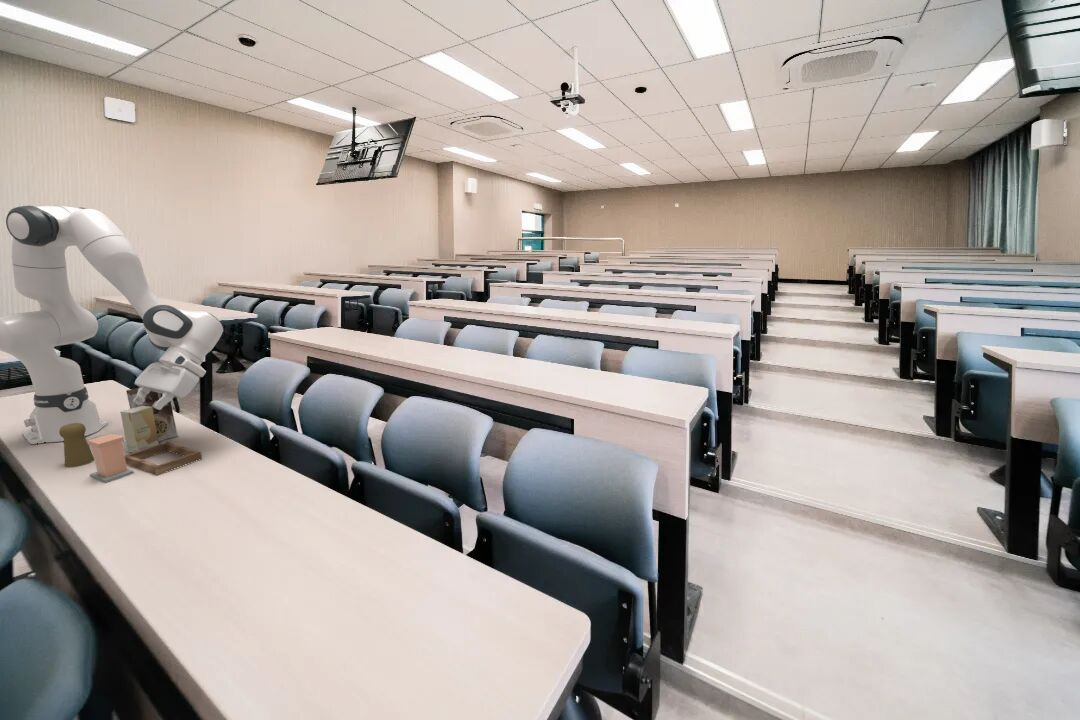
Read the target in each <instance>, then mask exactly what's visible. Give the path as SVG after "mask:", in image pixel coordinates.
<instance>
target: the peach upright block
mask: <svg viewBox="0 0 1080 720" xmlns="http://www.w3.org/2000/svg"><path fill="white" fill-rule="evenodd" d="M87 442H88V445H89V447H91V449H92V450H91V451H92V454H93V457H94V463H95V467H96V472H97V473H98V474H99V475H102V476H104V477H109V476H112V475H115V474H118V473H121V472H124V471H127V469H128V465H127V464H126V460H125V451H124V446H123V442H125V438H124V436H121V435H117V434H114V433H111V434H110V433H109V434H106V435H103V436H100V437H95V438H93V439H89V440H87Z"/></svg>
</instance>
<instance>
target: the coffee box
mask: <svg viewBox="0 0 1080 720" xmlns="http://www.w3.org/2000/svg"><path fill="white" fill-rule="evenodd" d="M139 388H140V387H137V388H133V389H127V390H126V396H127V400H128V405H129V409H131V408H136V407H139V406H149V407H152V405H153V404H154V402H155V401H158V400H159V399H160V398H161V397H162V395H163V394H162V393H157V392H153V391H150V392H149V394H147V395H146V397H145V401H144V402H143V404H142V405H139V404H136V403H134V402H133V400H134V399H135V398H136V396H137V393H138V390H139ZM152 408H153V407H152ZM153 414H154V420H155V426H156V432H157V438H158V442H160V441H164V440H168V439H171V438H177V437H178V431H177V427H176V421H175V416H174V411H173V407H172V400H171V401H170V402H168V403H167V404H165V405H164V406H163V408H162V409H161V410H158V409H155V408H153Z"/></svg>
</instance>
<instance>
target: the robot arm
mask: <svg viewBox="0 0 1080 720" xmlns="http://www.w3.org/2000/svg"><path fill="white" fill-rule="evenodd" d="M5 225H6V228H7V231H8V232H9V234H10V235H11V236H12V242H11V243H12V244H11V261H12V262H11V263H12V273H13V282H14V288H15V290H16V291H17V292H18V293H19V294H21V295H22V296H23V297H26V298H28V299H31V300H34V301H37V302H38V305H39V308H40V310H38V311H37V310H35V311H28V312H18V313H11V314H6V315H4V316H1V317H0V351H1V352H5V353H6V354H9V355H11V356H13V357H14V358H16V359H17V360H19V361H20V362H21V363H22V365H23V366H24V367H25V368H26V370H27V372H28V374H29V378H30V379H31V382H32V383H31V384H32V387H33V390H34V395H33V405H34V406H35V407H34V408H33V410H32V411H31V413H30V414H29V415H28V417H29V418H27V419H24V420H23V424H24V426H25V428H26V429H25V430H22V433H21V434H22V436H23V435H24V436H23V437H24V438H25V440H26V439H27V440H26V441H27V443H28V444H29V443H30V444H29V445H37V443H38V444H44V442H46V443H56V442H64V438H63V437H61V436H60V434H59V430H60V428H61V427H62V426H64V425H68V424H72V423H81V424H83V425H84V426H85V428H86V431H85V433H84V435H85V437H86V436H89V435H92V434H95V433H96V432H99V431H100V429H102V428H103V427H106V426H107V425H108V424H107V423H108V422H107V421H105V420H104V421H103V420H101V418H100V417H101V416H100V414H99V411H98V407H97V404H96V402H95V401H92V400H90V399H89V391H88V389H87V387H86V386H85V385H84V384H85V383H84V379H83V376H82V370H81V366H80V365H79V364H78V362H76V361H74V360H72V359H70V358H66V357H62V356H59V354H57V352H56V350H55V347H59V346H65V345H71V344H76V343H80V342H83V341H86V340H88V339H91V338H94V337H95V336H96V335H97V333H98V331H99V322H98V320H97V319H98V318H96V316H95V315H94V314H93V313H92V312H91V311H90V310H88V309H86V308H84V307H82V306H81V305H79V303H77V301H76V300H75V299H74V297H73V296H72V293H71V291H70V287H69V286H70V285H69V280H68V273H67V262H66V249H67V248H69V247H72V246H73V247H77V248H78V251H80V253H81V254H82V255H83V257H84V258H85V260H86V261H87V262H89V264H90V265H91V266H92V267H93V268H94V269H95V270H96V271H97V272H98V273H99V274H100V275H101V276H102V277H104V279H106V280H107V281H108V282H109V283H110V284H111V285H112V286H113V287H114V288H115V289H116V290H118V291H119V292H120V293H121V294H122V295H123V296H124V297H125V299H126V300H127V301H128V302H129V304H130V305H131V306H132V307H133V309H134V310H135V312H136V313H137V314H138V315H139V317H140V319H141V320H142V323H143V327H144V330H145V332H146V334H147V336H148V340H149V343H150V344H151V345H152V346H153V347H154V348H155V349H158V350H160V351H164V353H163V354H162V355H161V356H160V357H159V359H158V361H155V362H152V363H150V364H149V365H148V366H147V367H146V368H145V369H144V370H142V372H141V373H140V374H139V375H138V376H137V378H136V379H135V381H134V385H135V386H137V387H138V388H139V390H138V393H137V396H136V398H135V399H134V400H133V402H134V403H136V404H139V405H142V404H143V402H144V401H145V397H146V395H147V394H149V392H150V391H153V392H157V393H162V394H163V395H162V397H161V398H160V399H159V400H158V401H155V402H154V404H153V405H152V407H153V408H155V409H158V410H161V409H162V408H163V406H164V405H165V404H167V403H168V402H170V401H171V402H172V400H173V399H174V398H179V399H184V398H185V397H187V396H188V395H189V394H190V393H191V391H193V389H194V388H195V387H196V385H197V384H198V383H199V381H200V378H203V377H204V376H205V375H206V373H207V370H205V369H204V368H203V367H202V365H201V364H203V362H204V360H205V357H206V356H207V354H208V353H210V352H211V351H212V350H213V349H214V347H215V346H216V345H217V343H218V342H219V340H220V339H221V337H222V334H223V333H224V325H222V322H221V321H220V320H219V319H218V318H217V317H216V316H214V315H213V314H212V313H210V312H208V311H205V310H200V311H198V310H197V311H193V310H192V311H191V310H185V309H182V308H181V309H180V308H177V307H174V306H171V305H169V304H162V303H161V302H160V300H159V299H158V298H157V296H155V294H154V293H153V291H152V289H151V287H150V285H149V284H148V282H147V281H148V280H147V278H146V276H145V271H144V268H143V264H142V262H141V259H140V257H139V254H138V253H137V251H136V249H135V247H134V245H133V244H132V243H131V241H130V240H129V238H127V236H126V235H125V233H123V231H122V230H121V229H120V228H119V227H118V225H116V224H115V223H114V221H112V219H110V217H108V216H107V215H106V214H105V213H103V212H102V211H100V210H98V209H94V208H86V207H75V206H74V207H73V206H68V205H67V206H66V205H39V206H34V205H22V206H18V207H13V208H11V209H10V210H9V211H8V213H7V216H6V219H5ZM27 428H28V429H27Z"/></svg>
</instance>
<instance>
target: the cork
mask: <svg viewBox="0 0 1080 720" xmlns="http://www.w3.org/2000/svg"><path fill="white" fill-rule="evenodd" d="M85 431H86V428H85V426H84V425H83V424H81V423H72V424H68V425H64V426H62V427H61V428H60V430H59V434H60V436H61V437H63V438H64V441H63V451H64V452H63V453H64V455H63V457H64V467H66V468H76V467H81V466H86V465H89V464H90V463H92V461H93V462H95V459H94V455H93V451H92V450H91V448H90V447H91V446H90V445H89V443H88V440H87V439H86V436H85V435H84V433H85Z"/></svg>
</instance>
